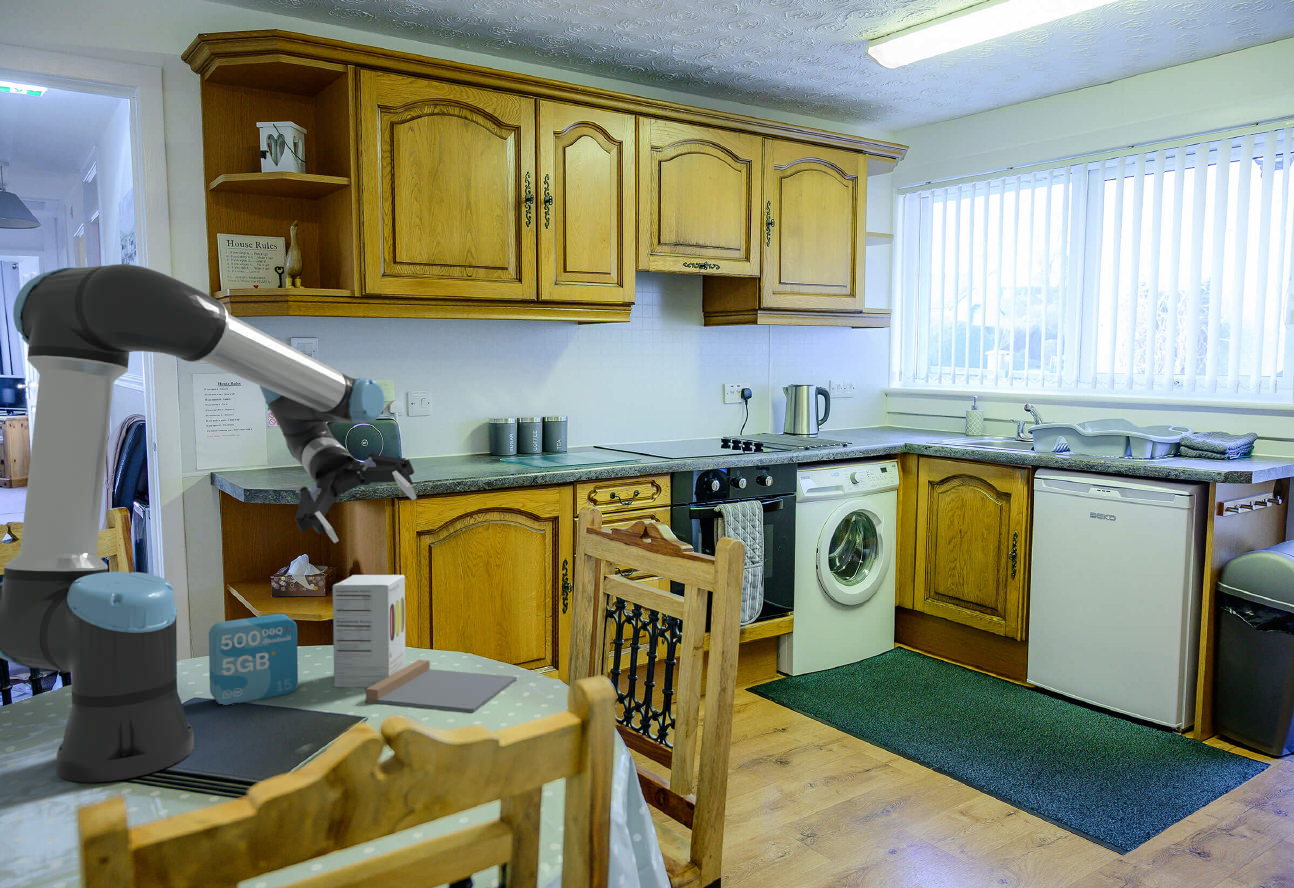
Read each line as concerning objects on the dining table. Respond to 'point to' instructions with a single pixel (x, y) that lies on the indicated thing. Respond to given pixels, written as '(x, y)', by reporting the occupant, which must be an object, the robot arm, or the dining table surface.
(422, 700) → the topple mat
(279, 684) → the data package
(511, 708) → the dining table surface
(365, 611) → the supplement box
